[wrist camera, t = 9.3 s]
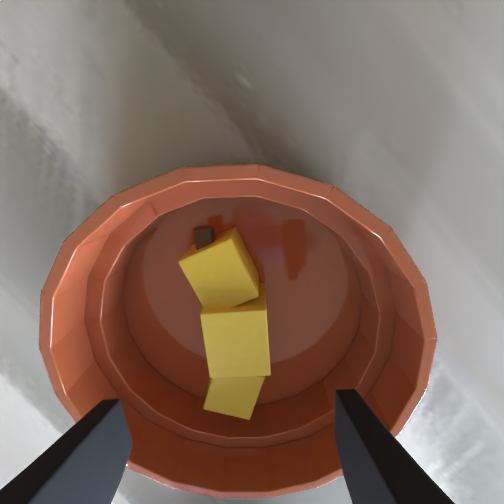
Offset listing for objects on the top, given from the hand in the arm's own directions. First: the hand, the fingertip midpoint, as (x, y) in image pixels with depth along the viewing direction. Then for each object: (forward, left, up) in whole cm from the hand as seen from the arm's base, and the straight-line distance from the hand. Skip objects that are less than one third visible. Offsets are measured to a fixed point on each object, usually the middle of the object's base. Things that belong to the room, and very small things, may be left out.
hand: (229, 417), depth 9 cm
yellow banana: (0, 0, -7) cm, 7 cm away
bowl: (0, 0, -7) cm, 7 cm away
